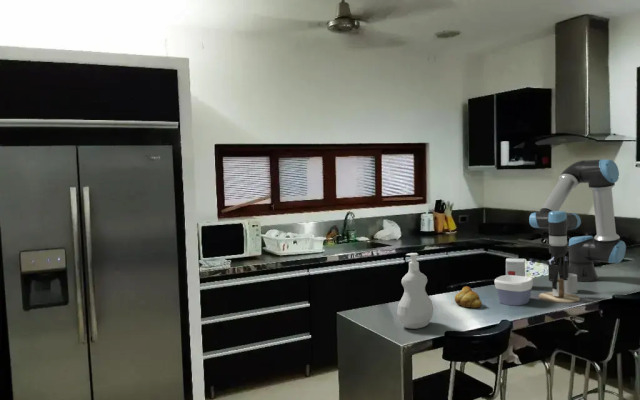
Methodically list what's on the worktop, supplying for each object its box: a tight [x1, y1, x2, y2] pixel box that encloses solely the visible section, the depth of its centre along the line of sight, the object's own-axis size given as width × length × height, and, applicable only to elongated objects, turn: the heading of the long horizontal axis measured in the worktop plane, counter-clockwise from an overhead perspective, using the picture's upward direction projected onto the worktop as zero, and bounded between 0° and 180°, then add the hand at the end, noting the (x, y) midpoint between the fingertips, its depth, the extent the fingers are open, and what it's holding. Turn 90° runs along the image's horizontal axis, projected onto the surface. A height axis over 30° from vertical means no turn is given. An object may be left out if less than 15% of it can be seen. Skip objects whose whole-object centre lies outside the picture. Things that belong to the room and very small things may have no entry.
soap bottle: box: [396, 252, 434, 330], centre depth 196 cm, size 17×12×29 cm
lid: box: [538, 278, 581, 304], centre depth 226 cm, size 17×17×9 cm
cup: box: [565, 273, 578, 295], centre depth 238 cm, size 7×10×9 cm
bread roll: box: [454, 285, 482, 309], centre depth 222 cm, size 13×10×8 cm
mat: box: [529, 290, 594, 308], centre depth 226 cm, size 18×22×1 cm
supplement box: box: [505, 258, 526, 277], centre depth 250 cm, size 9×9×15 cm
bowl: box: [493, 274, 534, 307], centre depth 225 cm, size 15×15×11 cm
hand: (558, 294), depth 226 cm, fingers open, 4 cm apart
